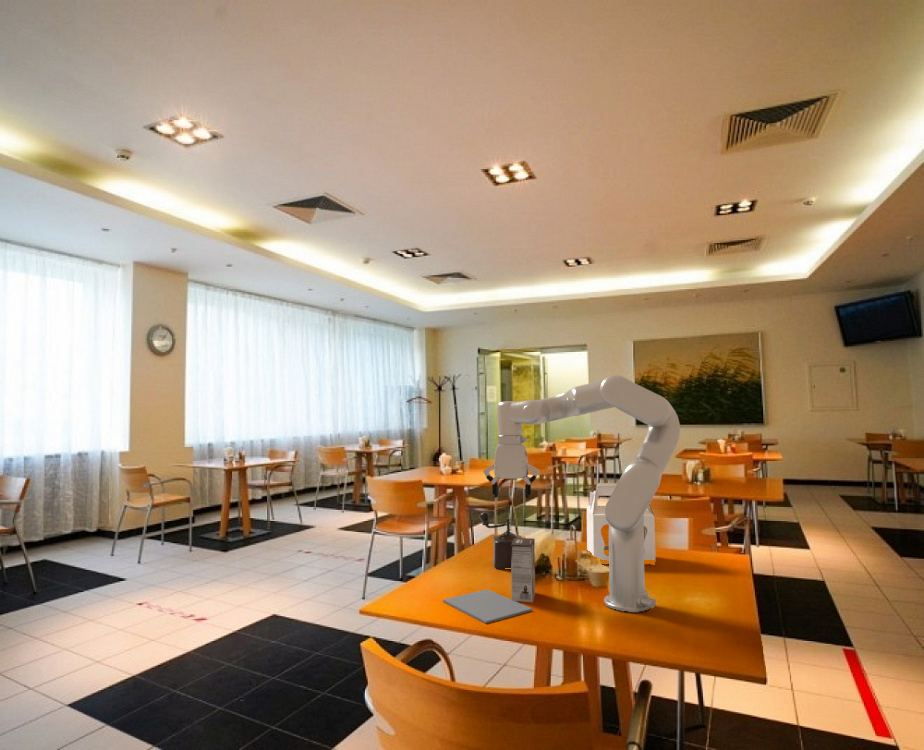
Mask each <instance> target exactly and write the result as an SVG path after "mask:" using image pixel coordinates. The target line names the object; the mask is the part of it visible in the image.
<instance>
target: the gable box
mask: <svg viewBox="0 0 924 750" xmlns="http://www.w3.org/2000/svg"><path fill="white" fill-rule="evenodd" d="M617 483H618V482H616V483H615V482H598V483H596V487H595V490H593V491H589V498H588V504H587V507H586V551H587V550H588V551H590V552H591V553H592V555H593V556H594V557H597V558H599V559H601V560H607V561H609V556H608V555H606V554H605V553H604V550H609V545H605V540H604V538H603V535H602V528H603V527H604V526H607V525H609V523H608V522H607V520H606V517H605V506H606V505H598V498H599V497H602V496H603V497H605V496H606V497H607V496H609V497H610V496H611V494H612V493H613V491H614V489H615V487H616V485H617ZM655 520H656V519H655V513H654V512H653V510H652V507H651V503H650V504H649V506H648V507H647V509H646V511H645V513H644V560H655V561H656V526H655V525H656V524H655V522H656V521H655Z"/></svg>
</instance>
